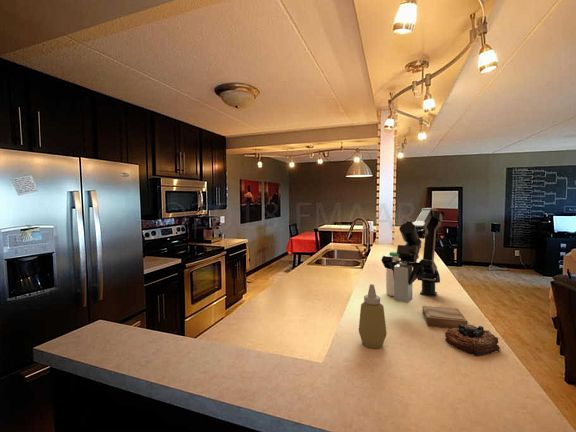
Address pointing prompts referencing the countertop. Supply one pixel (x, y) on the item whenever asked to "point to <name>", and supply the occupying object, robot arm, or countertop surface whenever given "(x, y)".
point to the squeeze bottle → (372, 320)
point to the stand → (443, 317)
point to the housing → (402, 282)
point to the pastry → (472, 340)
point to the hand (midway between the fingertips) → (402, 283)
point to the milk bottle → (390, 277)
